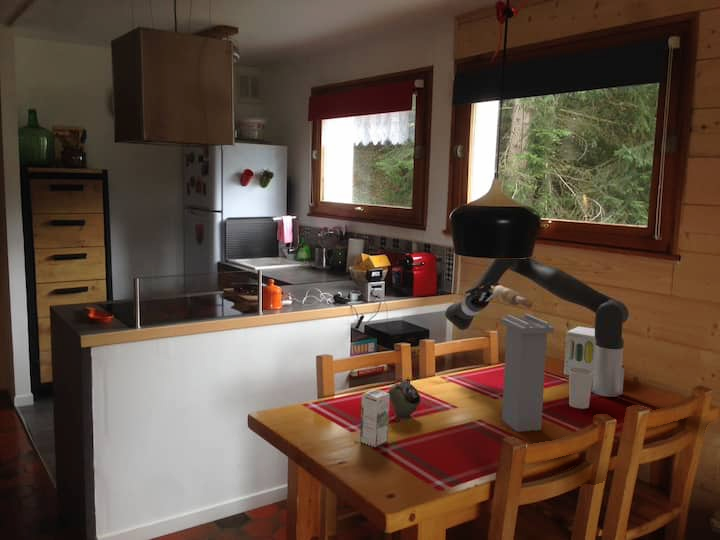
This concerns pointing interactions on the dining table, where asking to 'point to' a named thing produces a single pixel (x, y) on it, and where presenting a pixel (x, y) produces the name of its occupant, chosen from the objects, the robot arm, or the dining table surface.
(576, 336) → the supplement box
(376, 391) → the syrup box
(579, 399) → the cup
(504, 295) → the rolling pin
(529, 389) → the stand
